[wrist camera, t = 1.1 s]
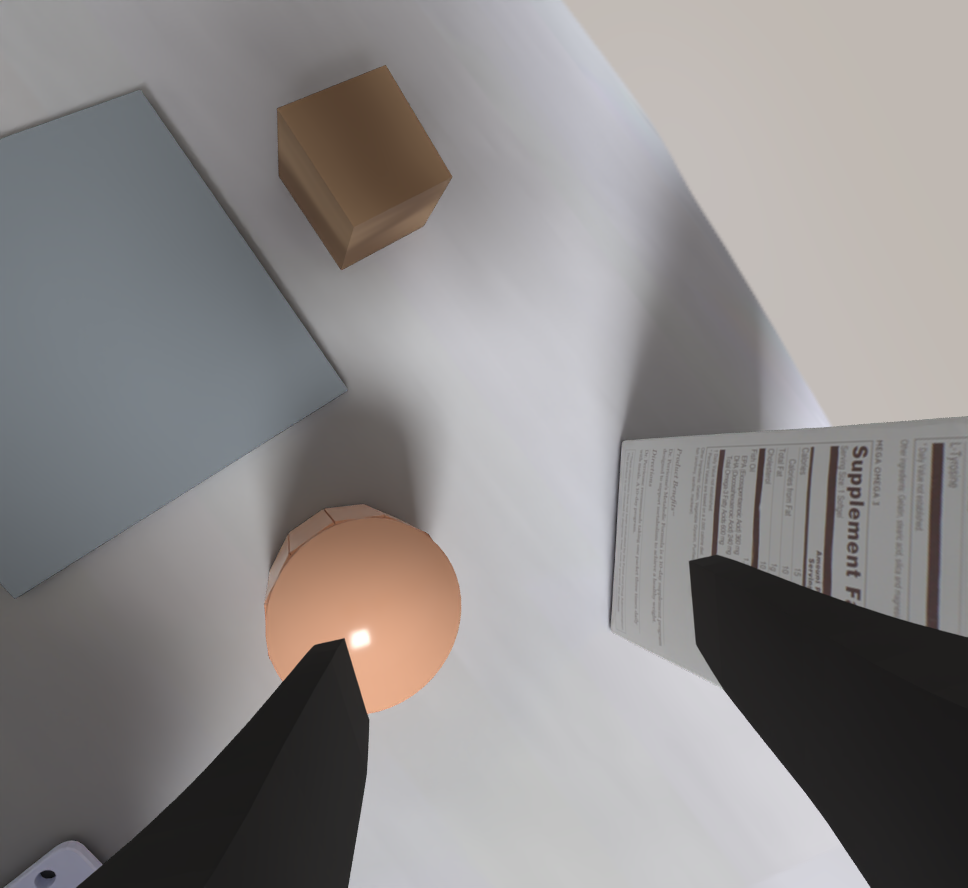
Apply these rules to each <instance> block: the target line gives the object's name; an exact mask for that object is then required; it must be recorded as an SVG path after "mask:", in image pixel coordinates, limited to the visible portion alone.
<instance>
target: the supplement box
mask: <svg viewBox="0 0 968 888" xmlns="http://www.w3.org/2000/svg"><path fill="white" fill-rule="evenodd" d="M713 555H720V556H723V557H727V558H730V559H733V560H736V561H738V562H741V563H744V564H746V565H749V566H752V567H754V568H757V569H760V570H762V571H765V572H767V573H770V574H773V575H775V576H778V577H780V578H783V579H786V580H788V581H791V582H794V583H796V584H799V585H801V586H804V587H807V588H810V589H812V590H815V591H818V592H820V593H823V594H826V595H829V596H832V597H834V598H837V599H840V600H843V601H846V602H849V603H852V604H855V605H858V606H861V607H864V608H867V609H870V610H873V611H876V612H879V613H882V614H885V615H888V616H892V617H895V618H898V619H902V620H905V621H909V622H912V623H915V624H919V625H923V626H927V627H931V628H934V629H938V630H942V631H946V632H949V633H953V634H957V635H961V636H964V637H968V416H966V417H951V418H937V419H925V420H913V421H900V422H886V423H871V424H859V425H848V426H837V427H824V428H805V429H790V430H772V431H755V432H739V433H723V434H711V435H694V436H679V437H665V438H650V439H637V440H625V441H623V442H622V449H621V466H620V482H619V499H618V516H617V533H616V551H615V568H614V583H613V600H612V616H611V632H612V633H613V634H615V635H617V636H619V637H621V638H623V639H625V640H627V641H629V642H631V643H633V644H635V645H637V646H639V647H641V648H642V649H644V650H646V651H648V652H650V653H652V654H654V655H656V656H658V657H660V658H662V659H664V660H666V661H668V662H670V663H672V664H674V665H676V666H678V667H680V668H682V669H684V670H686V671H688V672H690V673H692V674H694V675H696V676H698V677H700V678H702V679H704V680H706V681H708V682H710V683H712V684H714V685H715V686H717V687H719V688H721V689H723V688H722V687H721V685H720V683H719V682H718V680H717V679H716V677H715V675H714V674H713V672H712V671H711V669H710V668H709V666H708V664H707V662H706V661H705V659H704V657H703V656H702V654H701V652H700V651H699V649H698V647H697V646H696V641H695V629H694V617H693V605H692V594H691V582H690V570H689V561H690V560H695V559H699V558H704V557H708V556H713Z"/></svg>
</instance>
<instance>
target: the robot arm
mask: <svg viewBox="0 0 968 888" xmlns="http://www.w3.org/2000/svg"><path fill="white" fill-rule="evenodd" d="M689 570H690V582H691V594H692V605H693V617H694V629H695V641H696V646H697V647H698V649H699V651H700V652H701V654H702V656H703V657H704V659H705V661H706V662H707V664H708V666H709V668H710V669H711V671H712V672H713V674H714V675H715V677H716V679H717V680H718V682H719V683H720V685H721V687H722V688H723V690H724V691H725V692H726V693H727V695H728V696H729V697H730V699H731V700H732V701H733V702H734V704H735V705H736V706H737V708H738V709H739V710H740V711H741V713H742V714H743V715H744V716H745V718H746V719H747V720H748V722H749V723H750V724H751V725H752V727H753V728H754V729H755V730H756V732H757V733H758V734H759V735H760V737H761V738H762V739H763V740H764V742H765V743H766V744H767V745H768V747H769V748H770V749H771V750H772V752H773V753H774V754H775V755H776V757H777V758H778V759H779V760H780V762H781V763H782V764H783V765H784V767H785V768H786V769H787V770H788V772H789V773H790V774H791V775H792V777H793V778H794V779H795V780H796V782H797V783H798V784H799V785H800V787H801V788H802V789H803V790H804V792H805V793H806V794H807V796H808V797H809V798H810V800H811V801H812V802H813V804H814V805H815V806H816V808H817V809H818V810H819V812H820V813H821V815H822V816H823V817H824V819H825V820H826V821H827V823H828V824H829V826H830V827H831V829H832V830H833V832H834V833H835V835H836V836H837V838H838V839H839V841H840V842H841V844H842V845H843V847H844V848H845V850H846V851H847V853H848V854H849V856H850V857H851V859H852V860H853V862H854V863H855V865H856V866H857V868H858V869H859V871H860V872H861V874H862V875H863V877H864V878H865V880H866V881H867V883H868V884H869V886H870V887H871V888H968V637H964V636H961V635H957V634H953V633H949V632H946V631H942V630H938V629H934V628H931V627H927V626H923V625H919V624H915V623H912V622H909V621H905V620H902V619H898V618H895V617H892V616H888V615H885V614H882V613H879V612H876V611H873V610H870V609H867V608H864V607H861V606H858V605H855V604H852V603H849V602H846V601H843V600H840V599H837V598H834V597H832V596H829V595H826V594H823V593H820V592H818V591H815V590H812V589H810V588H807V587H804V586H801V585H799V584H796V583H794V582H791V581H788V580H786V579H783V578H780V577H778V576H775V575H773V574H770V573H767V572H765V571H762V570H760V569H757V568H754V567H752V566H749V565H746V564H744V563H741V562H738V561H736V560H733V559H730V558H727V557H723V556H720V555H713V556H708V557H704V558H699V559H695V560H690V561H689ZM368 742H369V718H368V715H367V711H366V708H365V705H364V701H363V698H362V695H361V691H360V688H359V685H358V681H357V678H356V675H355V671H354V668H353V665H352V661H351V658H350V655H349V651H348V648H347V645H346V641H345V638H342V639H338V640H334V641H329V642H325V643H320V644H316V645H314V646H313V647H312V648H311V649H310V650H309V651H308V652H307V653H306V655H305V656H304V657H303V658H302V659H301V660H300V662H299V663H298V664H297V665H296V666H295V668H294V669H293V670H292V671H291V672H290V674H289V675H288V676H287V677H286V678H285V680H284V681H283V682H282V683H281V684H280V686H279V687H278V688H277V689H276V690H275V692H274V693H273V694H272V695H271V696H270V698H269V699H268V700H267V701H266V702H265V703H264V705H263V706H262V707H261V708H260V709H259V711H258V712H257V713H256V714H255V715H254V716H253V718H252V719H251V720H250V721H249V722H248V723H247V724H246V726H245V727H244V728H243V729H242V730H241V731H240V732H239V733H238V734H237V735H236V736H235V738H234V739H233V740H232V741H231V742H230V743H229V744H228V745H227V746H226V747H225V748H224V750H223V751H222V752H221V753H220V754H219V755H218V756H217V757H216V758H215V759H214V760H213V762H212V763H211V764H210V765H209V766H208V767H207V768H206V769H205V770H204V771H203V772H202V773H201V774H200V775H199V776H198V777H197V778H196V779H195V780H194V781H193V782H192V783H191V784H190V785H189V786H188V787H187V788H186V789H185V790H184V791H183V792H182V793H181V794H180V795H179V796H178V797H177V798H176V799H175V800H174V801H173V802H172V803H171V804H170V805H169V806H168V807H167V808H166V809H165V810H164V811H163V812H161V813H160V814H159V815H158V816H157V817H156V818H155V819H154V820H153V821H152V822H151V823H150V824H149V825H148V826H147V827H146V828H144V829H143V830H142V831H141V832H140V833H139V834H138V835H137V836H136V837H134V838H133V839H132V840H131V841H130V842H129V843H128V844H126V845H125V846H124V847H123V848H122V849H121V850H119V851H118V852H117V853H116V854H115V855H113V856H112V857H111V858H110V859H109V860H108V861H106V862H105V863H104V864H102V863H101V862H100V861H99V860H98V859H97V858H96V857H95V856H94V855H93V854H92V853H91V852H90V851H89V850H88V849H87V848H86V847H85V846H84V845H83V844H81V843H80V842H78V841H71V840H70V841H66V842H63V843H61V844H59V845H57V846H56V847H54V848H53V849H52V850H51V851H49V852H48V853H47V854H46V855H44V856H43V857H42V858H40V859H39V860H38V861H37V862H35V863H34V864H33V865H32V866H30V867H29V868H28V869H27V870H25V871H24V872H23V873H22V874H20V875H19V876H18V877H16V878H15V879H14V880H13V881H11V882H10V883H9V884H8V885H6V886H5V887H4V888H348V884H349V878H350V872H351V867H352V861H353V855H354V849H355V843H356V837H357V831H358V825H359V819H360V813H361V807H362V801H363V795H364V788H365V782H366V775H367V761H368ZM44 870H51V871H53V872H55V874H56V876H55V877H53V878H49V879H45V878H43V877H42V876H41V874H40V873H41V872H42V871H44Z"/></svg>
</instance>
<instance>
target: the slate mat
mask: <svg viewBox="0 0 968 888" xmlns="http://www.w3.org/2000/svg"><path fill="white" fill-rule="evenodd" d="M346 391H348V389H347V388H346V386H345V385H344V383H343V382H342V380H341V379H340V377H339V376H338V374H337V373H336V372H335V370H334V369H333V367H332V366H331V364H330V363H329V361H328V360H327V359H326V357H325V356H324V354H323V353H322V351H321V350H320V348H319V347H318V346H317V344H316V343H315V341H314V340H313V338H312V337H311V335H310V334H309V333H308V331H307V330H306V328H305V327H304V325H303V324H302V322H301V321H300V320H299V318H298V317H297V315H296V314H295V312H294V311H293V309H292V308H291V307H290V305H289V304H288V302H287V301H286V299H285V298H284V296H283V295H282V294H281V292H280V291H279V289H278V288H277V286H276V285H275V283H274V282H273V280H272V279H271V278H270V276H269V275H268V273H267V272H266V270H265V269H264V267H263V266H262V265H261V263H260V262H259V260H258V259H257V257H256V256H255V254H254V253H253V252H252V250H251V249H250V247H249V246H248V244H247V243H246V241H245V240H244V239H243V237H242V236H241V234H240V233H239V231H238V230H237V228H236V227H235V226H234V224H233V223H232V221H231V220H230V218H229V217H228V215H227V214H226V213H225V211H224V210H223V208H222V207H221V205H220V204H219V202H218V201H217V199H216V198H215V197H214V195H213V194H212V192H211V191H210V189H209V188H208V186H207V185H206V184H205V182H204V181H203V179H202V178H201V176H200V175H199V173H198V172H197V171H196V169H195V168H194V166H193V165H192V163H191V162H190V160H189V159H188V158H187V156H186V155H185V153H184V152H183V150H182V149H181V147H180V146H179V145H178V143H177V142H176V140H175V139H174V137H173V136H172V134H171V133H170V132H169V130H168V129H167V127H166V126H165V124H164V123H163V121H162V120H161V119H160V117H159V116H158V114H157V113H156V111H155V110H154V108H153V107H152V105H151V104H150V103H149V101H148V100H147V98H146V97H145V95H144V94H143V92H142V91H141V90H137V91H135V92H132V93H129V94H126V95H123V96H120V97H118V98H115V99H112V100H109V101H106V102H103V103H101V104H98V105H95V106H92V107H89V108H86V109H84V110H81V111H78V112H75V113H72V114H69V115H67V116H64V117H61V118H58V119H55V120H52V121H50V122H47V123H44V124H41V125H38V126H35V127H33V128H30V129H27V130H24V131H21V132H18V133H16V134H13V135H10V136H7V137H4V138H1V139H0V584H1V585H2V586H3V587H4V588H5V589H6V590H7V591H8V592H9V594H10V595H11V596H12V597H13V598H14V599H15V598H17V597H19V596H21V595H23V594H24V593H26V592H27V591H29V590H30V589H32V588H34V587H35V586H37V585H38V584H40V583H42V582H43V581H45V580H46V579H48V578H50V577H51V576H53V575H54V574H56V573H58V572H59V571H61V570H62V569H64V568H66V567H67V566H69V565H70V564H72V563H74V562H75V561H77V560H78V559H80V558H82V557H83V556H85V555H86V554H88V553H90V552H91V551H93V550H94V549H96V548H98V547H99V546H101V545H102V544H104V543H105V542H107V541H109V540H110V539H112V538H113V537H115V536H117V535H118V534H120V533H121V532H123V531H125V530H126V529H128V528H129V527H131V526H133V525H134V524H136V523H137V522H139V521H141V520H142V519H144V518H145V517H147V516H149V515H150V514H152V513H153V512H155V511H157V510H158V509H160V508H161V507H163V506H165V505H166V504H168V503H169V502H171V501H173V500H174V499H176V498H177V497H179V496H180V495H182V494H184V493H185V492H187V491H188V490H190V489H192V488H193V487H195V486H196V485H198V484H200V483H201V482H203V481H204V480H206V479H208V478H209V477H211V476H212V475H214V474H216V473H217V472H219V471H220V470H222V469H224V468H225V467H227V466H228V465H230V464H232V463H233V462H235V461H236V460H238V459H240V458H241V457H243V456H244V455H246V454H248V453H249V452H251V451H252V450H254V449H255V448H257V447H259V446H260V445H262V444H263V443H265V442H267V441H268V440H270V439H271V438H273V437H275V436H276V435H278V434H279V433H281V432H283V431H284V430H286V429H287V428H289V427H291V426H292V425H294V424H295V423H297V422H299V421H300V420H302V419H303V418H305V417H307V416H308V415H310V414H311V413H313V412H315V411H316V410H318V409H319V408H321V407H323V406H324V405H326V404H327V403H329V402H330V401H332V400H334V399H335V398H337V397H338V396H340V395H342V394H343V393H345V392H346Z"/></svg>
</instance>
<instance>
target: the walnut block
mask: <svg viewBox="0 0 968 888" xmlns="http://www.w3.org/2000/svg"><path fill="white" fill-rule="evenodd" d="M277 125H278V169H279V177H280V179H281V180H282V182H283V183H284V185H285V186H286V188H287V189H288V191H289V192H290V194H291V195H292V197H293V198H294V200H295V201H296V203H297V204H298V206H299V207H300V209H301V210H302V212H303V213H304V215H305V216H306V218H307V219H308V221H309V222H310V224H311V226H312V227H313V229H314V230H315V232H316V233H317V235H318V236H319V238H320V239H321V241H322V242H323V244H324V245H325V247H326V248H327V250H328V251H329V253H330V254H331V256H332V257H333V259H334V260H335V262H336V263H337V265H338V266H339V268H340V269H341V270H343V269H345V268H347V267H348V266H350V265H352V264H354V263H356V262H358V261H360V260H362V259H363V258H365V257H367V256H369V255H371V254H373V253H375V252H376V251H378V250H380V249H382V248H384V247H386V246H388V245H389V244H391V243H393V242H395V241H397V240H399V239H401V238H403V237H404V236H406V235H408V234H410V233H412V232H414V231H416V230H417V229H419V228H421V227H423V226H424V225H425V223H426V221H427V219H428V218H429V216H430V214H431V213H432V211H433V209H434V208H435V206H436V204H437V202H438V201H439V199H440V197H441V196H442V194H443V192H444V190H445V189H446V187H447V185H448V184H449V182H450V180H451V179H452V175H451V174H450V172H449V170H448V169H447V167H446V165H445V164H444V162H443V160H442V159H441V157H440V155H439V154H438V152H437V150H436V149H435V147H434V145H433V144H432V142H431V140H430V138H429V137H428V135H427V133H426V132H425V130H424V128H423V127H422V125H421V123H420V122H419V120H418V118H417V117H416V115H415V113H414V112H413V110H412V108H411V107H410V105H409V103H408V102H407V100H406V98H405V97H404V95H403V93H402V91H401V90H400V88H399V86H398V85H397V83H396V81H395V80H394V78H393V76H392V75H391V73H390V71H389V70H388V68H387V66H386V65H384V66H382V67H379V68H377V69H374V70H372V71H369V72H367V73H364V74H362V75H359V76H357V77H354V78H352V79H349V80H347V81H344V82H342V83H339V84H337V85H334V86H332V87H329V88H327V89H324V90H322V91H319V92H317V93H314V94H312V95H309V96H307V97H304V98H302V99H299V100H297V101H294V102H292V103H289V104H287V105H284V106H282V107H279V108H277Z"/></svg>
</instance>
